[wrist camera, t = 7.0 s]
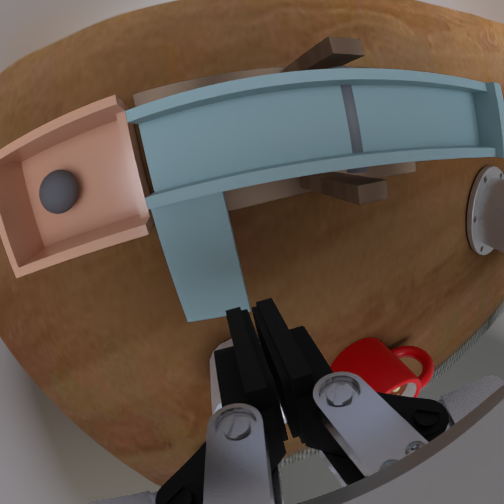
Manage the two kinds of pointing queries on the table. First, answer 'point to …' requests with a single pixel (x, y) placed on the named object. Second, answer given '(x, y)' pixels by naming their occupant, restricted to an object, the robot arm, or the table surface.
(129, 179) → the pink open box
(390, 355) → the mug
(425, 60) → the table surface
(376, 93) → the lever
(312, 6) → the table surface
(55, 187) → the ball
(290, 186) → the launcher base
